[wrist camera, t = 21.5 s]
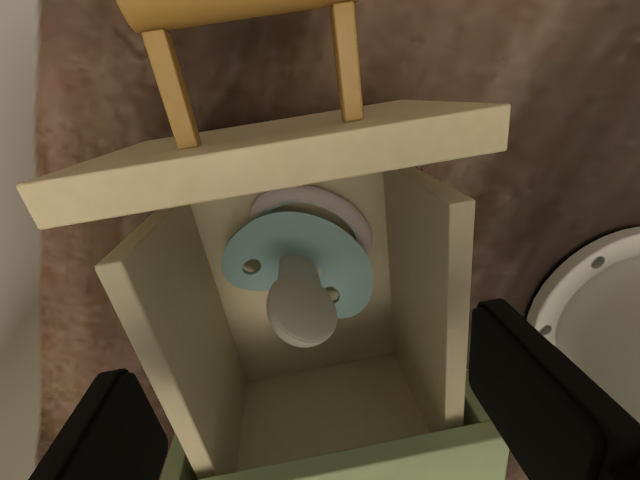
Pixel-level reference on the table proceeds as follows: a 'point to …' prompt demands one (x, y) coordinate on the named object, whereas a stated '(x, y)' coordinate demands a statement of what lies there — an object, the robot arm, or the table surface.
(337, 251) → the pacifier
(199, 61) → the table surface
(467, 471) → the cabinet
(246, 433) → the drawer
